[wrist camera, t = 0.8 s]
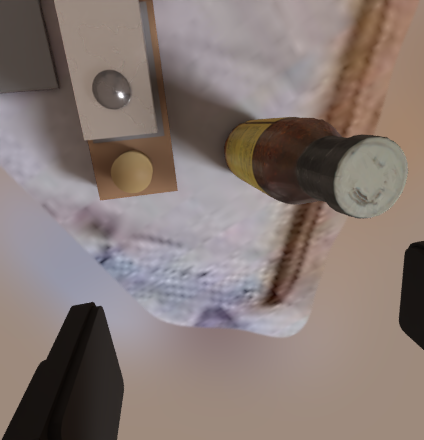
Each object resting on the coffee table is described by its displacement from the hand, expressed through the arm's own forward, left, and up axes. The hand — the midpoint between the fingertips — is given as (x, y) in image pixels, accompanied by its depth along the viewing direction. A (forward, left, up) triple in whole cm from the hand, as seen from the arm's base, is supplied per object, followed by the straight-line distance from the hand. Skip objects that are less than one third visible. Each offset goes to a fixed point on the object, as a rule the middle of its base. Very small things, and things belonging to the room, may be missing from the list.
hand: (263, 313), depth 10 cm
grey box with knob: (-9, -5, -21) cm, 23 cm away
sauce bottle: (-2, +7, -26) cm, 27 cm away
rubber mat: (-14, -15, -26) cm, 33 cm away
